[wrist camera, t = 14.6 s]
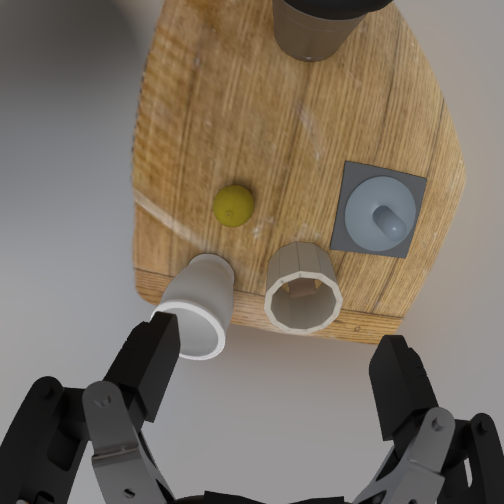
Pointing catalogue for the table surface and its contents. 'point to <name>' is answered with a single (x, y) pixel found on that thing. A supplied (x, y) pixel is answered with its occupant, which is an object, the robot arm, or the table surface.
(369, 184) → the lid
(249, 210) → the lemon
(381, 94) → the table surface
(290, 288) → the walnut block
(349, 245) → the mat
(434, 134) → the table surface
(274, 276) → the crock
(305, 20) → the robot arm
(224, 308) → the jar
